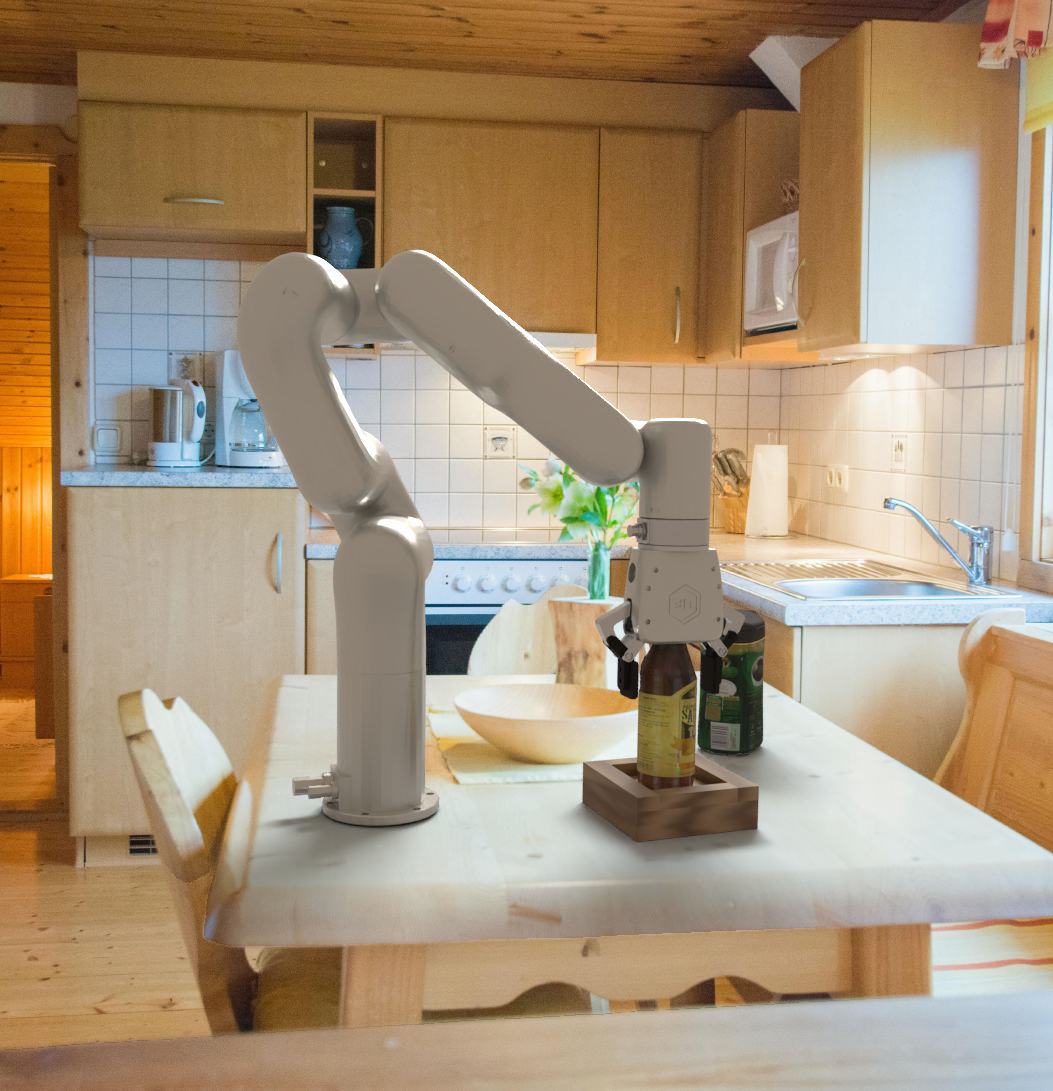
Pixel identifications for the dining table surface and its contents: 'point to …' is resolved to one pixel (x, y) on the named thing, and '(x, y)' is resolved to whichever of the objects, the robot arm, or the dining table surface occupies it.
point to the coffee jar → (736, 694)
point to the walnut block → (670, 800)
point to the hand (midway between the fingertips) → (669, 694)
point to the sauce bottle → (667, 718)
